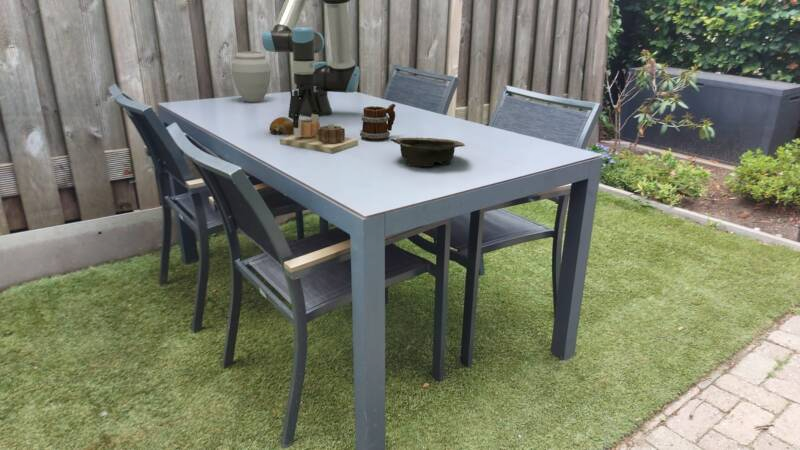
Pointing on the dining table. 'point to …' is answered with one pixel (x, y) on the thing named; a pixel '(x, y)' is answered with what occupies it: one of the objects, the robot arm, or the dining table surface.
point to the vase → (251, 75)
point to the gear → (309, 128)
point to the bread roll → (281, 126)
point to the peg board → (322, 140)
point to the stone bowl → (427, 150)
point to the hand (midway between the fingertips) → (306, 133)
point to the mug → (377, 123)
